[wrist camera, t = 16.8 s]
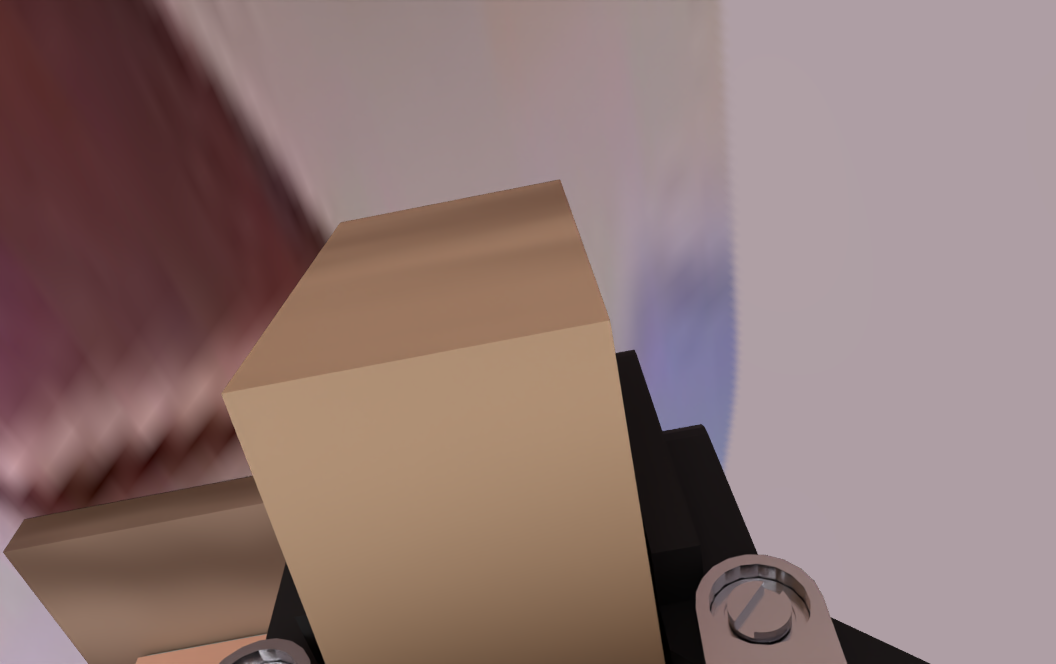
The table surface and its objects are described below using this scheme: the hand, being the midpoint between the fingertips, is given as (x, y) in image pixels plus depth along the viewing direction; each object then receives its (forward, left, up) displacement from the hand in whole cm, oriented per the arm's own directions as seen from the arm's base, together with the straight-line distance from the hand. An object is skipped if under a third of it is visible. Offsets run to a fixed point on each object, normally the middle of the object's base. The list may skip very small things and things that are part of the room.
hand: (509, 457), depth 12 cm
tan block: (+3, 0, +1) cm, 3 cm away
